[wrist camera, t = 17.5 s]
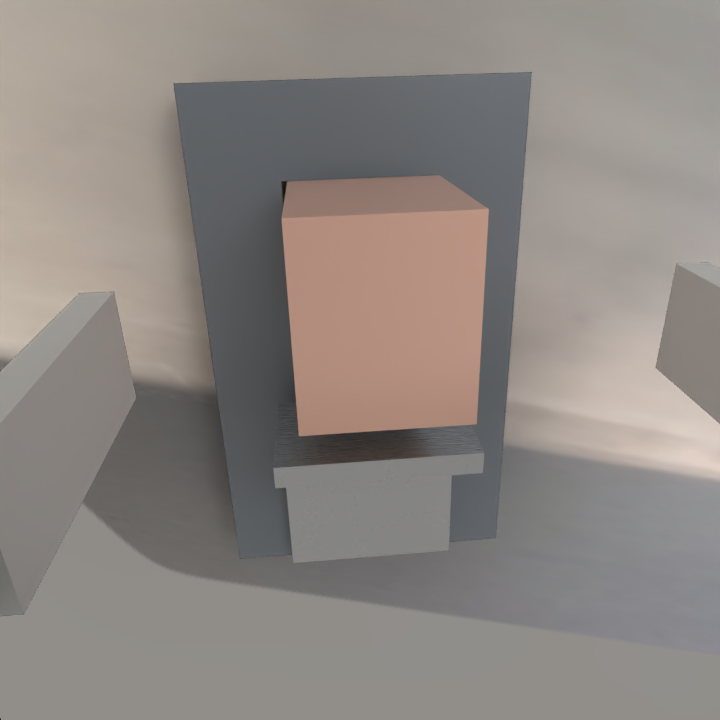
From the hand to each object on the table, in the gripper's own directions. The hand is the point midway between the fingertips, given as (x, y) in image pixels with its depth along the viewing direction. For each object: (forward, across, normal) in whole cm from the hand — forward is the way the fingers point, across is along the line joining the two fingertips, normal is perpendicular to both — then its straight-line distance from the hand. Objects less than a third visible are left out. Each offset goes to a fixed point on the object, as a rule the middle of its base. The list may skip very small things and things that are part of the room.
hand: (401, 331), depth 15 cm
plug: (+12, 0, -1) cm, 12 cm away
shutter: (+9, 0, -10) cm, 13 cm away
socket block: (+12, 0, -5) cm, 13 cm away
